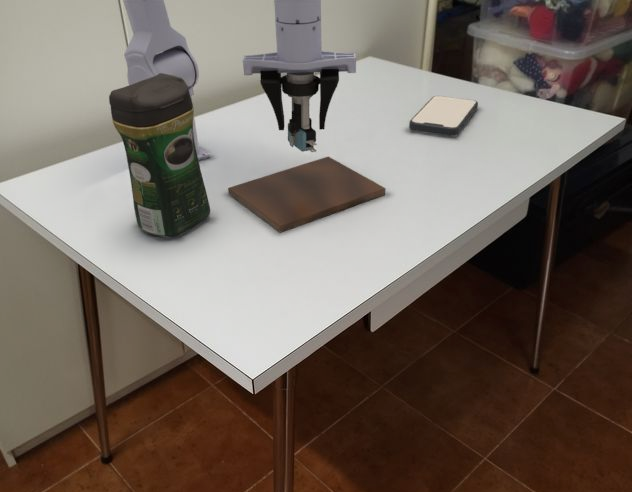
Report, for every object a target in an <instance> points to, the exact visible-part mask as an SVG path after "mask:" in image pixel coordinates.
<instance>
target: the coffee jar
mask: <svg viewBox="0 0 632 492" xmlns="http://www.w3.org/2000/svg"><path fill="white" fill-rule="evenodd" d="M191 98H192V96H190V92H189V89H188V86H187V84H186V83H185V81H184V80H183V79H182V78H179V77H176V76H172V75H168V74H163V73H159V74H158V75H156V76H154V77H151V78H148V79H145V80H142V81H139V82H137V83H134V84H132V85H129V84H128V85H126V86H124V87H119V88H117V89H116V88H115V89H113V90H112V91H111V92H110V93H109V95H108V103H109V105H110V112H111V113H110V114H111V120H112V124H113V127H114V128H115V130H116V131H117V132H118V134H119V136H120V137H121V140H122V143H123V146H124V152H125V156H126V160H127V166H128V172H129V179H130V187H131V193H132V202H133V209H134V215H135V219H136V225H137V227H138V228H139V229H140V230H141V231H143V232H144V233H145V234H148V235H150V236H152V237H156V238H168V239H169V238H171V239H172V238H176V237H179V236H181V235H184V234H185V233H187V232H189V231H191V230H192V229H194V228H195V227H198V226H199V225H201V224H202V223H203V222H205V221H206V220H207V219H208V218H209V216H210V215H211V206H210V202H209V201H210V200H209V197H208V192H207V190H206V185H205V181H204V178H203V173H202V169H201V165H200V160H198V156H197V152H196V147H195V142H194V136H193V117H194V118H195V109H194V108H195V107H194V103H193V99H192V100H191Z"/></svg>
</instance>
